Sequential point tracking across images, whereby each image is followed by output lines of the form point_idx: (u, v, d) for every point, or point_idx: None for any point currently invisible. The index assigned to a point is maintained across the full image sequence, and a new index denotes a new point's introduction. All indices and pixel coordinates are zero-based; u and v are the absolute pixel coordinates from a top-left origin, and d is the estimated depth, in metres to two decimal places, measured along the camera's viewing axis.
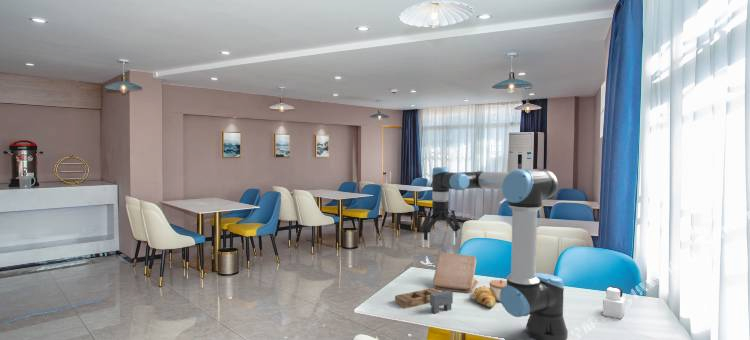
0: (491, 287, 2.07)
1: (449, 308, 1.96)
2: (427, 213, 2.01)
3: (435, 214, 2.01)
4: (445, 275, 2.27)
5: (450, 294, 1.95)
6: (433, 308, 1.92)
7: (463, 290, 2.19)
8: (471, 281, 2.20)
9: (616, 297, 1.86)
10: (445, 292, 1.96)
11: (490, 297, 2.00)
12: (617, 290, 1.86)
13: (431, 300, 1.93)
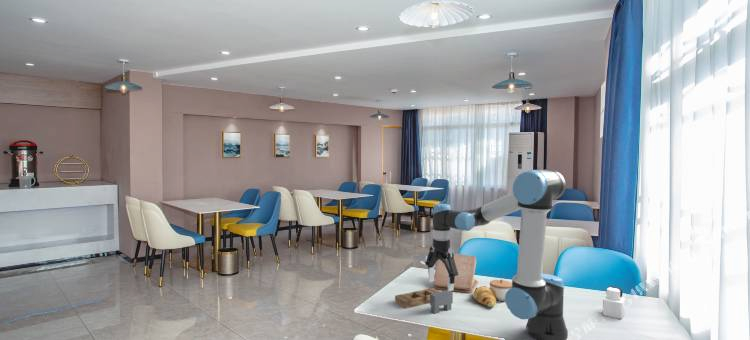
0: (491, 287, 2.08)
1: (449, 308, 1.96)
2: None
3: (434, 251, 1.96)
4: (445, 275, 2.27)
5: (450, 294, 1.95)
6: (433, 308, 1.92)
7: (463, 290, 2.19)
8: (471, 281, 2.20)
9: (616, 297, 1.86)
10: (445, 292, 1.96)
11: (491, 297, 2.00)
12: (617, 290, 1.86)
13: (431, 300, 1.93)
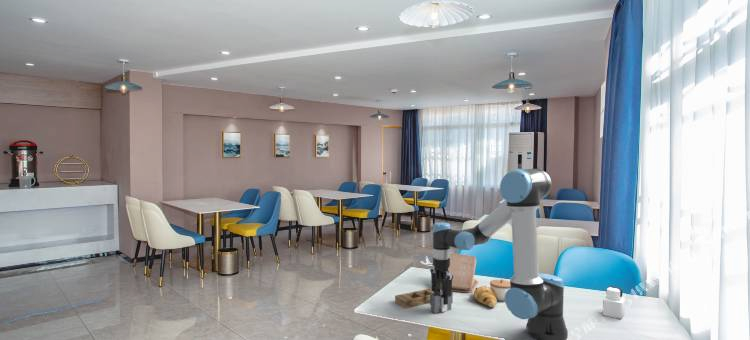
0: (492, 287, 2.08)
1: (449, 308, 1.96)
2: None
3: (435, 270, 1.97)
4: None
5: None
6: (433, 308, 1.92)
7: (463, 290, 2.19)
8: (471, 281, 2.20)
9: (616, 297, 1.86)
10: None
11: (491, 297, 2.00)
12: (617, 290, 1.86)
13: (431, 300, 1.93)
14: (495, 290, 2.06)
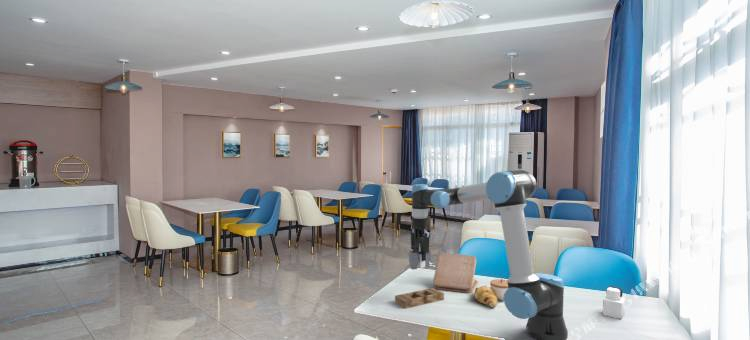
0: (492, 286, 2.08)
1: (427, 265, 2.07)
2: None
3: (414, 229, 2.08)
4: (445, 275, 2.27)
5: None
6: (412, 264, 2.04)
7: (463, 290, 2.19)
8: (471, 281, 2.20)
9: (616, 297, 1.86)
10: None
11: (492, 297, 2.00)
12: (617, 290, 1.86)
13: (410, 257, 2.05)
14: (495, 290, 2.06)
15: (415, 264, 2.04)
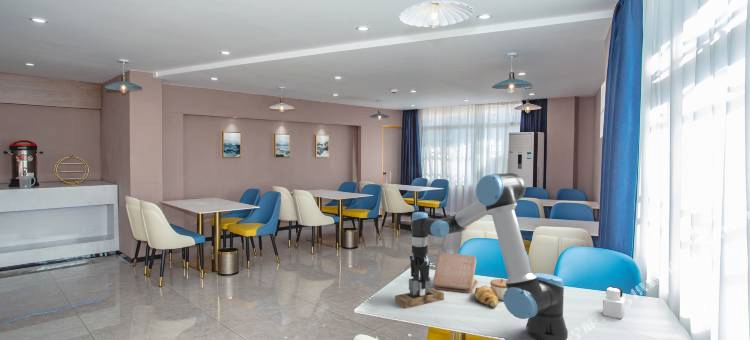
0: (492, 286, 2.08)
1: (427, 292, 2.08)
2: None
3: (413, 256, 2.09)
4: (445, 275, 2.27)
5: None
6: (411, 292, 2.05)
7: (463, 290, 2.19)
8: (471, 281, 2.20)
9: (616, 297, 1.86)
10: None
11: (493, 296, 2.01)
12: (617, 290, 1.86)
13: (410, 285, 2.05)
14: (496, 290, 2.07)
15: (415, 292, 2.05)
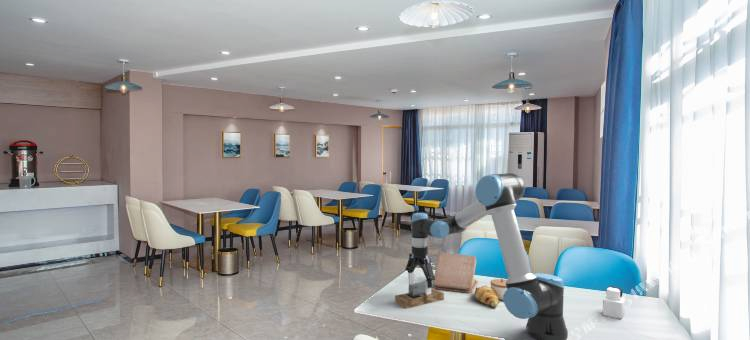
0: (493, 286, 2.08)
1: None
2: None
3: (413, 257, 2.09)
4: (445, 275, 2.27)
5: None
6: None
7: (463, 290, 2.19)
8: (471, 281, 2.20)
9: (616, 297, 1.86)
10: (423, 283, 2.08)
11: (494, 296, 2.01)
12: (617, 290, 1.86)
13: (409, 290, 2.06)
14: (496, 290, 2.07)
15: None
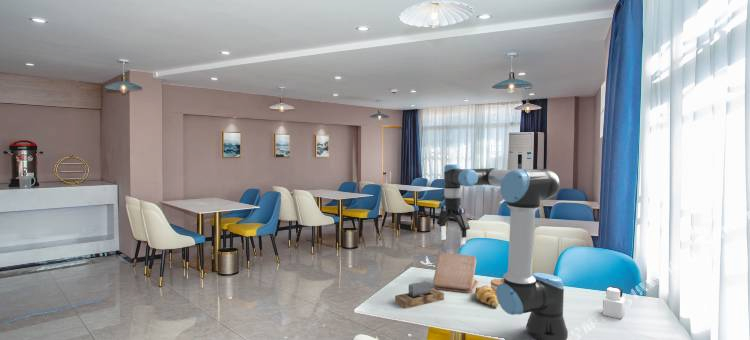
0: (493, 286, 2.09)
1: None
2: None
3: (446, 209, 2.09)
4: (445, 275, 2.27)
5: (428, 285, 2.08)
6: None
7: (463, 290, 2.19)
8: (471, 281, 2.20)
9: (616, 297, 1.86)
10: (423, 283, 2.08)
11: (494, 296, 2.01)
12: (617, 290, 1.86)
13: (409, 290, 2.06)
14: None
15: None
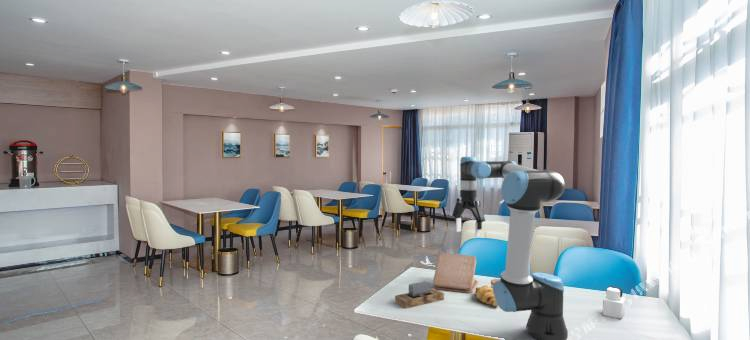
0: None
1: None
2: None
3: (461, 201, 2.09)
4: (445, 275, 2.27)
5: (428, 285, 2.08)
6: None
7: (463, 290, 2.19)
8: (471, 281, 2.20)
9: (616, 297, 1.86)
10: (423, 283, 2.08)
11: None
12: (617, 290, 1.86)
13: (409, 290, 2.06)
14: None
15: None
